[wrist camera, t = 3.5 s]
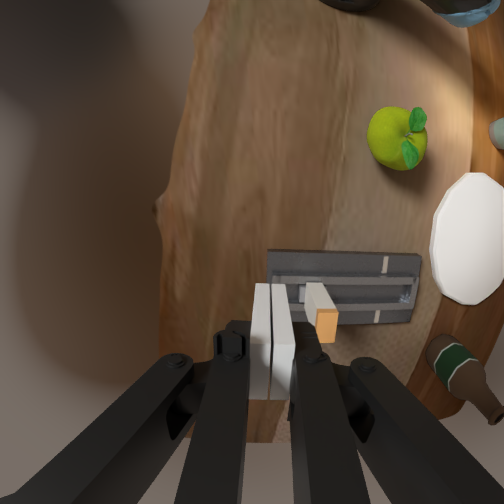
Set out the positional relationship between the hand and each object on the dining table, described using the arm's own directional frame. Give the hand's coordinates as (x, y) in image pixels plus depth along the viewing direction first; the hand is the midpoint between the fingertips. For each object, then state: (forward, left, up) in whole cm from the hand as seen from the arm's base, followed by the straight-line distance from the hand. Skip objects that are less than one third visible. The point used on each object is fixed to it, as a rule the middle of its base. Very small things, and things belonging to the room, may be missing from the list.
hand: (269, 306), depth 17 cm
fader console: (+15, +6, -29) cm, 33 cm away
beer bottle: (+40, +18, -30) cm, 53 cm away
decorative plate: (+23, +34, -30) cm, 51 cm away
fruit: (-2, +24, -30) cm, 38 cm away
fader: (+12, +1, -27) cm, 29 cm away
